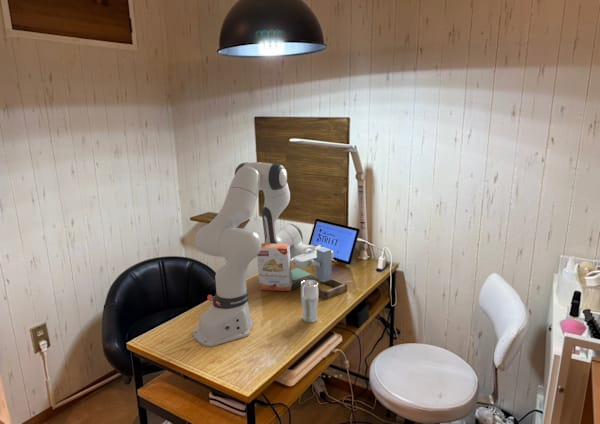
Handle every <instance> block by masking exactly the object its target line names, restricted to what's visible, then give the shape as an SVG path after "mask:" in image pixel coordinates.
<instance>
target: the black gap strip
mask: <svg viewBox="0 0 600 424" xmlns="http://www.w3.org/2000/svg"><path fill="white" fill-rule="evenodd" d="M304 280H315V281H317V282H318V281H319V280H318V279H317V276H314V275H311V276H309V277H306V278H303V279H300V280H298V281H295V282H292V287H291V289H290V290H296V289H298V288H301V282H302V281H304Z"/></svg>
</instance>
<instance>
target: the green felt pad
mask: <svg viewBox="0 0 600 424" xmlns="http://www.w3.org/2000/svg"><path fill="white" fill-rule="evenodd" d="M291 273H292V283H294V282H297V281H300V280H303V279H306V278H308V277H311V276H313V274H312V273H310V272H308V271H306V270H303V269H300V268H298V267H296V268H294V269H291Z"/></svg>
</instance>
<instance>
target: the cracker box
mask: <svg viewBox="0 0 600 424" xmlns="http://www.w3.org/2000/svg"><path fill="white" fill-rule="evenodd" d="M261 244H262V245H261V250H260V252H259V254H258V255H257V257H256V258H257V260H256V261H257V270H258V282H259V283H258V284H259V290H260V291H275V292H276V291H281V292H291V290H292V289H291V287H292V283H293V281H292V273H291V270H292V263H291V262H290V260H291V257H290V244H265V242H264V243H262V242H261Z"/></svg>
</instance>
